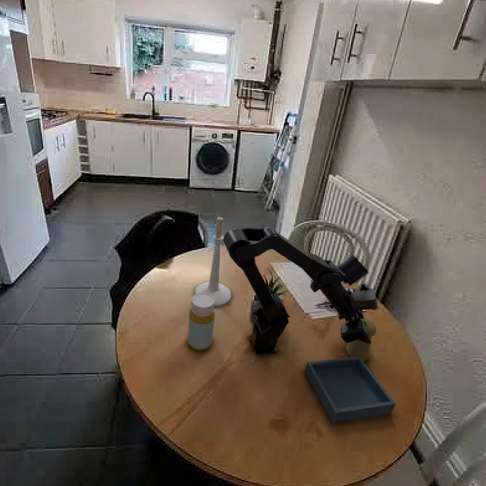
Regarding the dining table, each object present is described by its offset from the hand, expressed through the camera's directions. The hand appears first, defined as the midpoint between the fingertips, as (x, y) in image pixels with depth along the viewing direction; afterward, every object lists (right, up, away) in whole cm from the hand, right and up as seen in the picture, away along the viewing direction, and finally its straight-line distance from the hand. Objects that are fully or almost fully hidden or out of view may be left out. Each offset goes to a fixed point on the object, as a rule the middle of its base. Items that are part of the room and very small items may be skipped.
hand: (368, 336), depth 87 cm
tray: (-11, -10, -9) cm, 17 cm away
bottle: (-48, -3, +2) cm, 48 cm away
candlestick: (-44, +6, +23) cm, 50 cm away
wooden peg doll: (-2, -6, +3) cm, 7 cm away
